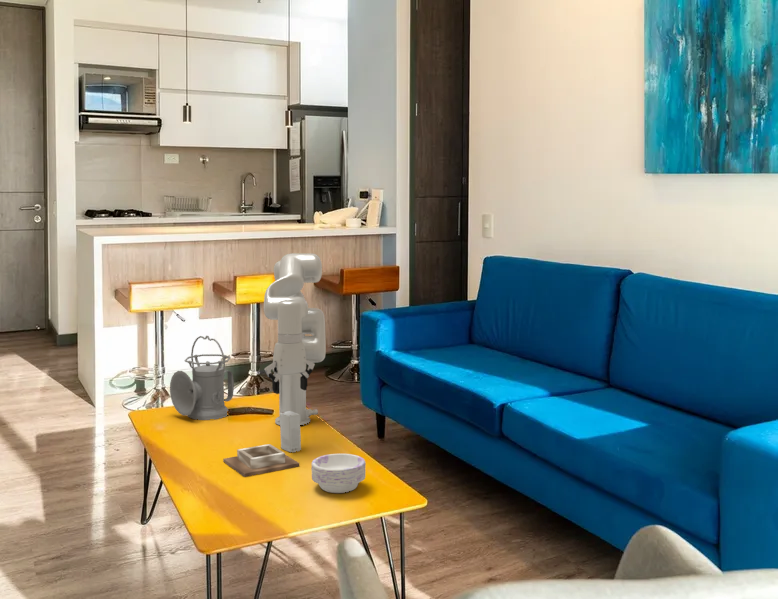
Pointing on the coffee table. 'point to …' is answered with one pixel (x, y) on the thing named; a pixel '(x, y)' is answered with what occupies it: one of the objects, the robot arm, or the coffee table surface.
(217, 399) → the lantern
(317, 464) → the paper bowls
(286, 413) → the skincare box
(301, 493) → the coffee table surface
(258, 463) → the socket board
